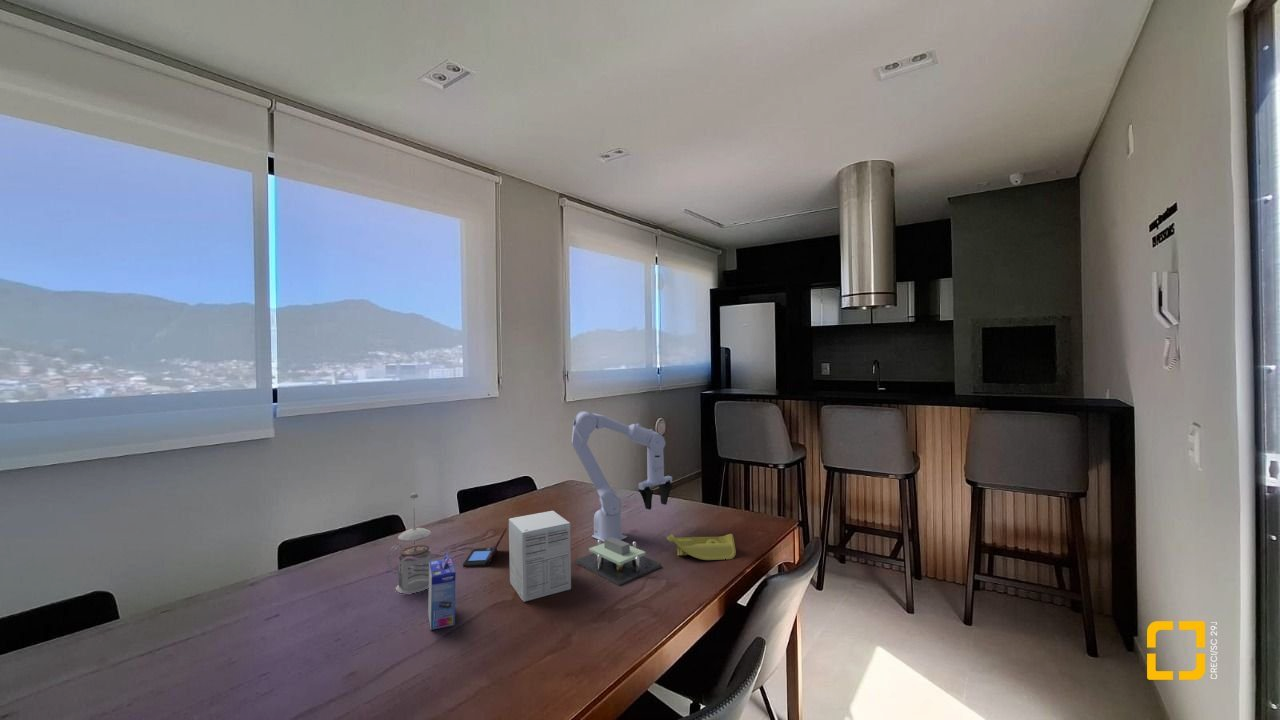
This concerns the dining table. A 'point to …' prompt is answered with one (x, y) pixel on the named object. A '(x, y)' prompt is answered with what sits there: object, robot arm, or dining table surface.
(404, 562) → the french press
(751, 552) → the dining table surface
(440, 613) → the ink cartridge box
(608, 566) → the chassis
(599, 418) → the robot arm
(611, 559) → the board
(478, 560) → the handheld game console
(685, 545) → the plastic component
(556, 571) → the supplement box
